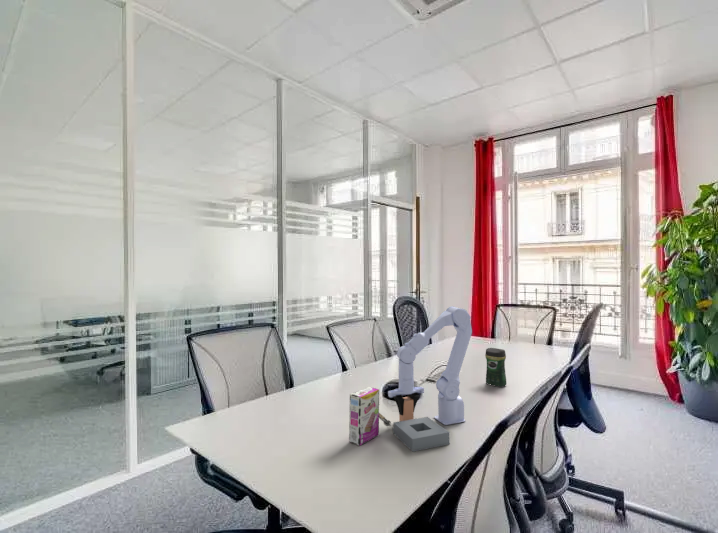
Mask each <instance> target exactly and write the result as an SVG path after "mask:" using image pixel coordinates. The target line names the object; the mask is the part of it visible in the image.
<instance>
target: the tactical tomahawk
mask: <svg viewBox="0 0 718 533" xmlns="http://www.w3.org/2000/svg"><path fill="white" fill-rule="evenodd" d="M379 419H381V421H382V422H384V423H385V424H387V425H389V424H390V425H391V424H392V421H390V420H389V419H386V417H385V416H384V415H382V413H380V412H379Z"/></svg>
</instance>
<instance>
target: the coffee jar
mask: <svg viewBox="0 0 718 533" xmlns="http://www.w3.org/2000/svg"><path fill="white" fill-rule="evenodd" d="M484 356H485V359H486V360H485V361H486V371H485V372H486V373H485V384H487V383H488V384H491V385H495V386H494V387H496V386H500V387H499V388H501V387H502V386H504V387H506V386H507V376H506V367H505V366H506V364H505V362H506V357H507V355H506V351H505V349H503V348H502V349H501V348H494V347H488V348H486V349H485V355H484ZM488 384H487V385H488ZM491 385H490V386H491ZM505 385H506V386H505ZM502 388H503V387H502Z"/></svg>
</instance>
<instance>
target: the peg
mask: <svg viewBox="0 0 718 533" xmlns="http://www.w3.org/2000/svg"><path fill="white" fill-rule="evenodd" d="M402 397H403V396H402ZM403 398H404V399H405V400H404V405H403V415H400V414H399V413H398V415H399V416H398V418H399V420H398V422H399V421H405V420H411V419H415V416H414V414H415V409H414V407H413V399H411V398H410V397H408V396H405V397H403Z"/></svg>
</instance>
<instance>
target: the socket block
mask: <svg viewBox="0 0 718 533" xmlns="http://www.w3.org/2000/svg"><path fill="white" fill-rule="evenodd" d="M392 424H393V428H392V429H393V432H392V433H393V435H394V436H395V438H397V439H398V440H399V441H400V442H402V443H403V444H404V446H406V447H407V448H408V449H409V450H410V451H411V452H417V451H423V450H426V449H427V450H428V449H432V448H437V447H441V446H442V447H443V446H448V445H450V431H449V430H447V429H445V428H444V427H443V426H442V425H440V424H438V423H437V422H435V421H434V420H432V419H431V418H430V417H429V416H424V417H418V418H414V419H411V420H405V421H399V420H398V421H394V422H393V423H392Z"/></svg>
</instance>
